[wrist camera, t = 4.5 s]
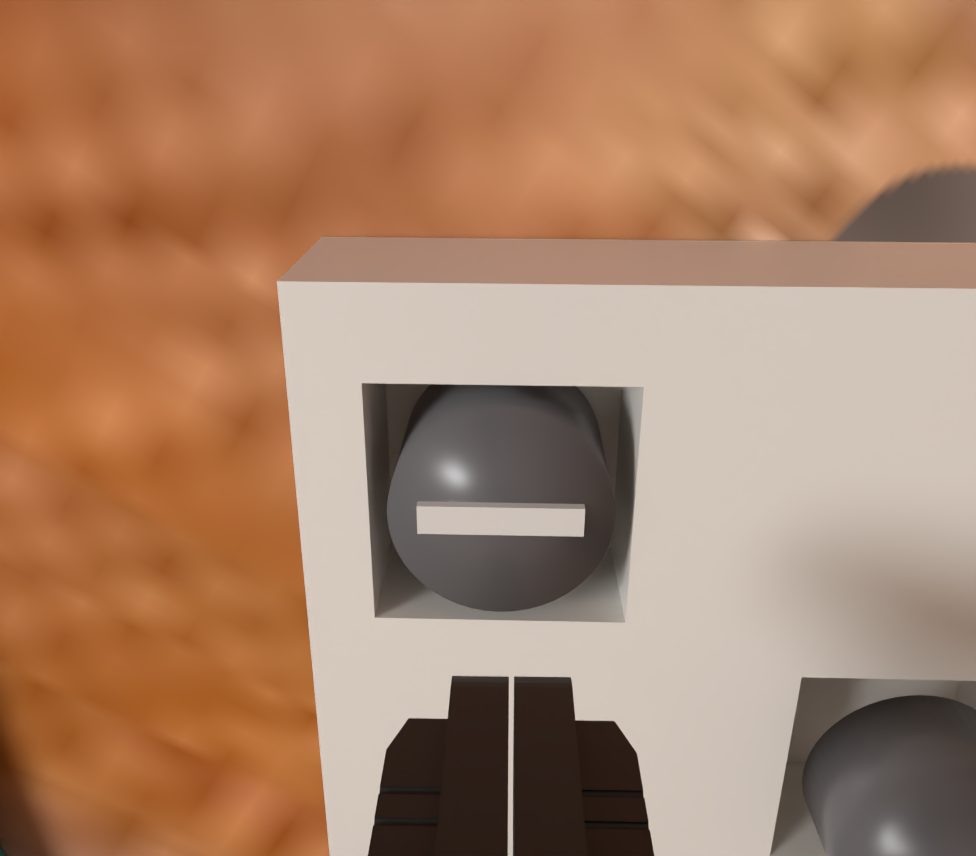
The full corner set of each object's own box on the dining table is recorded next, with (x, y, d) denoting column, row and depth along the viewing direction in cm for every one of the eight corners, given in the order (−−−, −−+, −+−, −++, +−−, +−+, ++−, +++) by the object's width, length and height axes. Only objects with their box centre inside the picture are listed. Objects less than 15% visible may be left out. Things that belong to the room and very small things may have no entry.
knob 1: (402, 353, 19) (380, 413, 16) (605, 356, 19) (623, 416, 16) (408, 530, 21) (390, 615, 18) (595, 533, 21) (609, 619, 18)
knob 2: (817, 693, 19) (878, 820, 16) (1027, 697, 19) (1129, 826, 16) (789, 844, 21) (838, 986, 18) (981, 849, 21) (1064, 992, 17)
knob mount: (322, 236, 19) (277, 281, 16) (1114, 243, 19) (1258, 292, 15) (371, 934, 28) (349, 1068, 24) (914, 949, 28) (975, 1088, 24)
